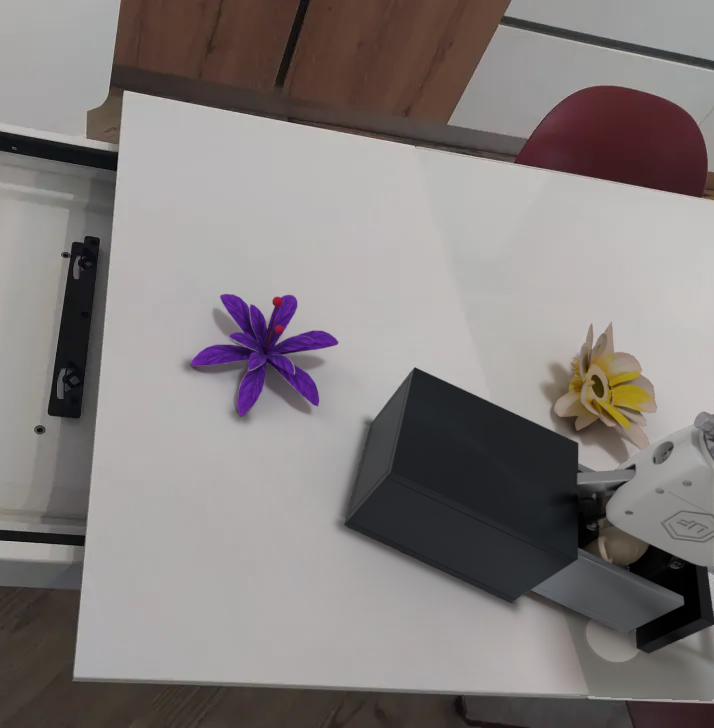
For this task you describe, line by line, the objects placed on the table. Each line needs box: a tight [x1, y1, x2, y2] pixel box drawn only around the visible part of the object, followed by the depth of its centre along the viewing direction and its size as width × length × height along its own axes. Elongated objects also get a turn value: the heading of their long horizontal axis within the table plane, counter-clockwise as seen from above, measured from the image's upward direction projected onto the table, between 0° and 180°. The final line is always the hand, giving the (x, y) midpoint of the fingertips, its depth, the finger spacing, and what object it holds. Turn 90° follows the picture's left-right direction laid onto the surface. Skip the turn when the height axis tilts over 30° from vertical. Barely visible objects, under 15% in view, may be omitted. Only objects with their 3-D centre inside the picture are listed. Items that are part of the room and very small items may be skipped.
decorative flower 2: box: [553, 320, 658, 451], centre depth 82 cm, size 15×11×10 cm
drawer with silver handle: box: [530, 462, 714, 655], centre depth 67 cm, size 23×11×8 cm, turn 71°
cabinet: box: [344, 366, 579, 603], centre depth 67 cm, size 17×13×10 cm
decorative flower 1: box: [190, 293, 339, 417], centre depth 72 cm, size 14×15×7 cm
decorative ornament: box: [582, 526, 649, 568], centre depth 66 cm, size 4×8×5 cm, turn 111°
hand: (600, 553), depth 68 cm, fingers closed on decorative ornament, 5 cm apart
